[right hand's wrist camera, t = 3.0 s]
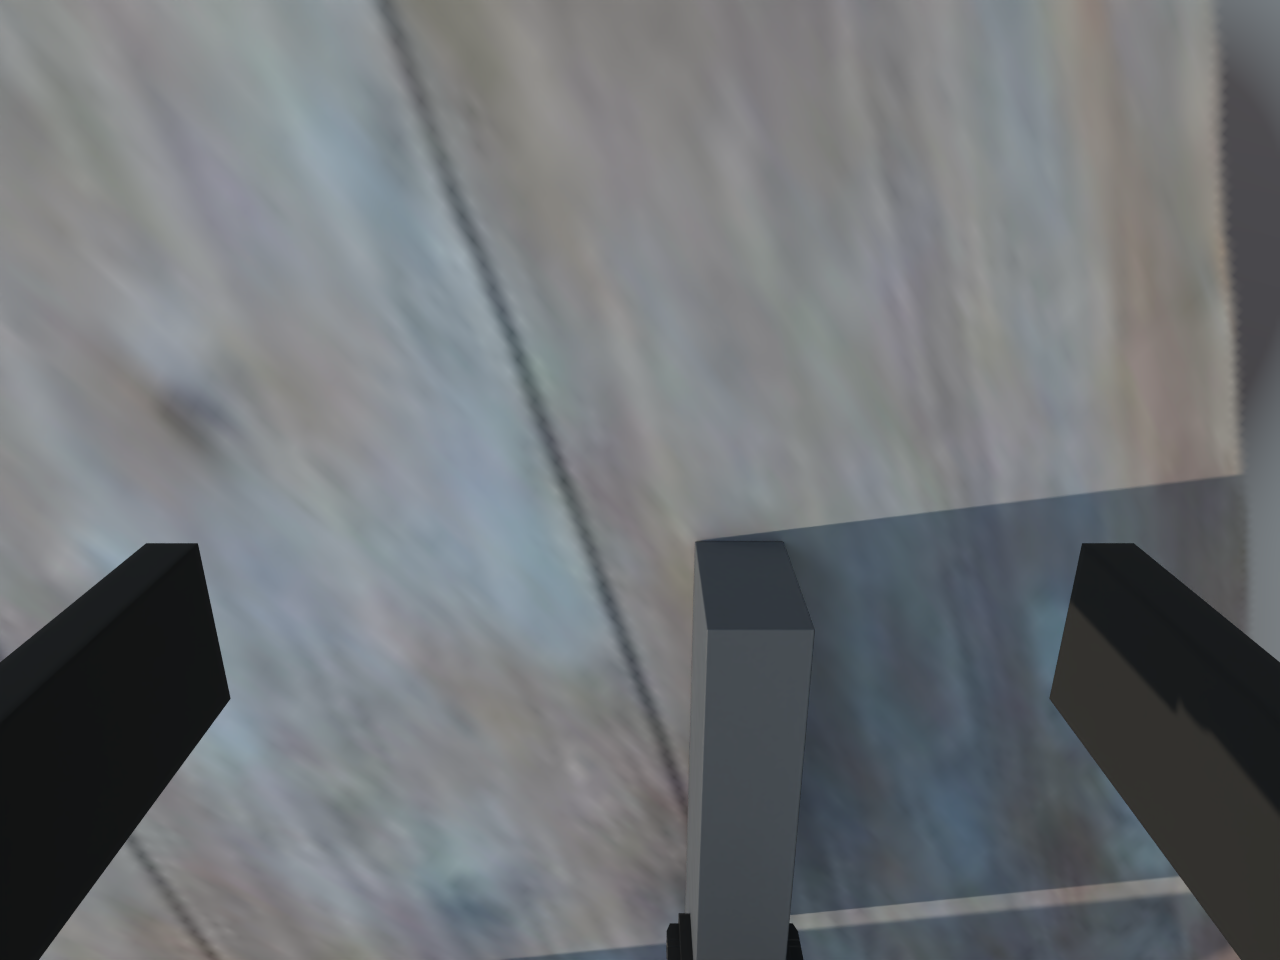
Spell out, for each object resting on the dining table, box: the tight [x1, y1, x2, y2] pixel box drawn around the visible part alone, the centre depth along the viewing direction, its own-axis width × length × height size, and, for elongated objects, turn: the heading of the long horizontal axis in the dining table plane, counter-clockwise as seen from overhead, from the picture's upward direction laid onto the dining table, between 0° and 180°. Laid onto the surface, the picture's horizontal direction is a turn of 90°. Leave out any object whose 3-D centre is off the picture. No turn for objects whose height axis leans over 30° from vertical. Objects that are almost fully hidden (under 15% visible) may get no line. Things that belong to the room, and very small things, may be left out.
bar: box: [685, 542, 815, 960], centre depth 45 cm, size 26×5×9 cm, turn 0°
